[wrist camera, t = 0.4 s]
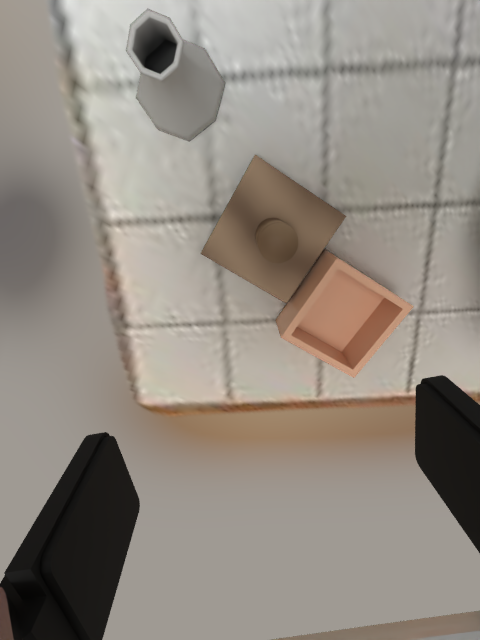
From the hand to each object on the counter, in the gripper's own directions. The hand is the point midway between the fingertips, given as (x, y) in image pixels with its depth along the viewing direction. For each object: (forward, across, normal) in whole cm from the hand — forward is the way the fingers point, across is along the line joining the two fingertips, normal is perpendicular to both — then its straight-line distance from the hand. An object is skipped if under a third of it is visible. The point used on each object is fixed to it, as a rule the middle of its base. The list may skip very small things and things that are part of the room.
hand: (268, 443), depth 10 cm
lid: (+25, -4, -3) cm, 25 cm away
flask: (+26, +2, -16) cm, 30 cm away
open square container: (+26, -9, +6) cm, 28 cm away
